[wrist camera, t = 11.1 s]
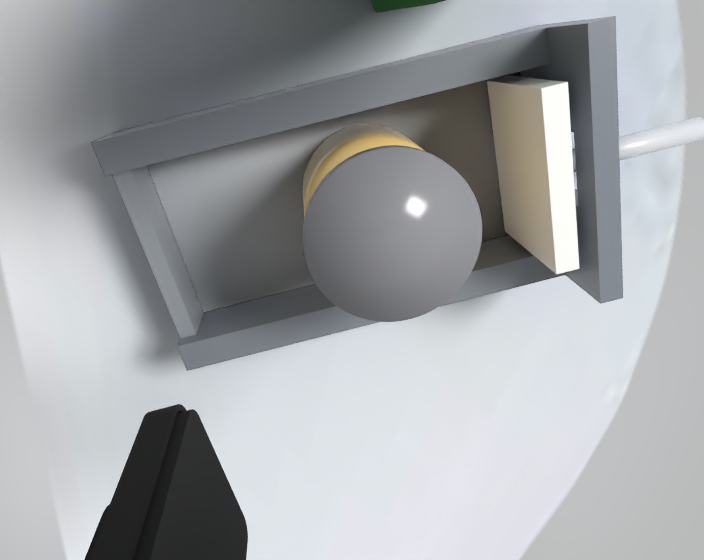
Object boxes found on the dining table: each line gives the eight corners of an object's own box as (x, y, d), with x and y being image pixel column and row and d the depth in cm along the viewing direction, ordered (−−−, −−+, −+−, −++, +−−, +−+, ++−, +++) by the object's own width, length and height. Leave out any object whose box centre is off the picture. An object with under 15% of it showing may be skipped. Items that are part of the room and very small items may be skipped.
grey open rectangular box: (115, 132, 25) (58, 157, 19) (537, 25, 25) (615, 16, 19) (197, 338, 29) (173, 412, 23) (555, 248, 29) (623, 297, 23)
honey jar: (283, 141, 26) (279, 177, 18) (417, 105, 26) (467, 127, 18) (320, 265, 28) (329, 340, 21) (441, 233, 28) (493, 296, 21)
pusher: (486, 80, 25) (541, 88, 20) (654, 38, 25) (755, 34, 20) (504, 231, 28) (556, 274, 23) (654, 193, 28) (742, 227, 23)
